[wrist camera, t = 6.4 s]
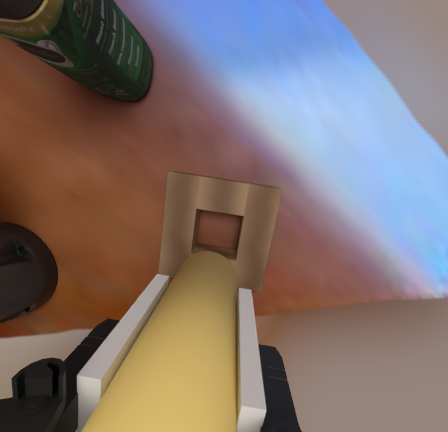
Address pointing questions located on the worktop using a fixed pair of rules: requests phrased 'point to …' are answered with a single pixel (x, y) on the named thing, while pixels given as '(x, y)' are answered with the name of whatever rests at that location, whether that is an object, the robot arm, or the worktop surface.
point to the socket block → (225, 203)
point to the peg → (180, 359)
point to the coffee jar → (82, 42)
